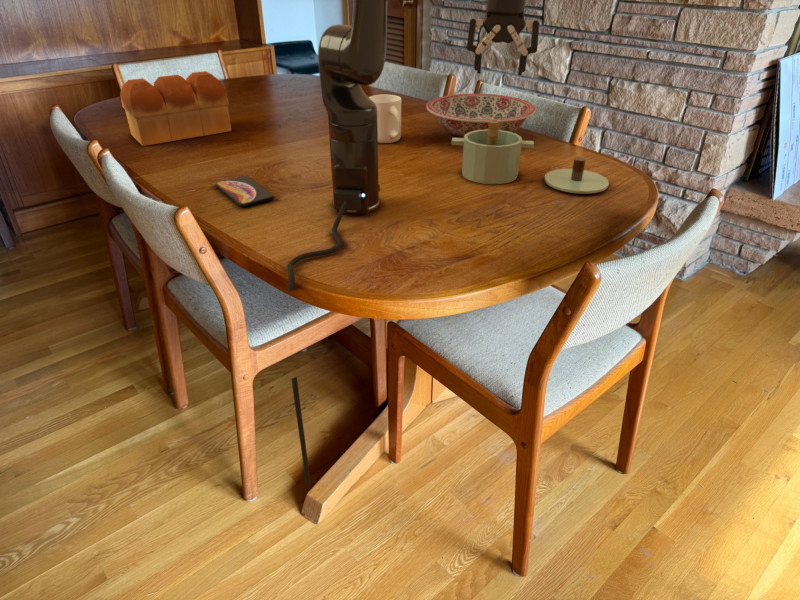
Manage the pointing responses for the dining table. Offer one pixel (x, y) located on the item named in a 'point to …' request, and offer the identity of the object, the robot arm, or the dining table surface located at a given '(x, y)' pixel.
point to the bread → (175, 107)
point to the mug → (388, 117)
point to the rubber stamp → (493, 132)
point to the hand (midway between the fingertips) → (499, 73)
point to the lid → (576, 179)
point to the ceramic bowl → (479, 112)
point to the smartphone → (244, 191)
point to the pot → (491, 156)
